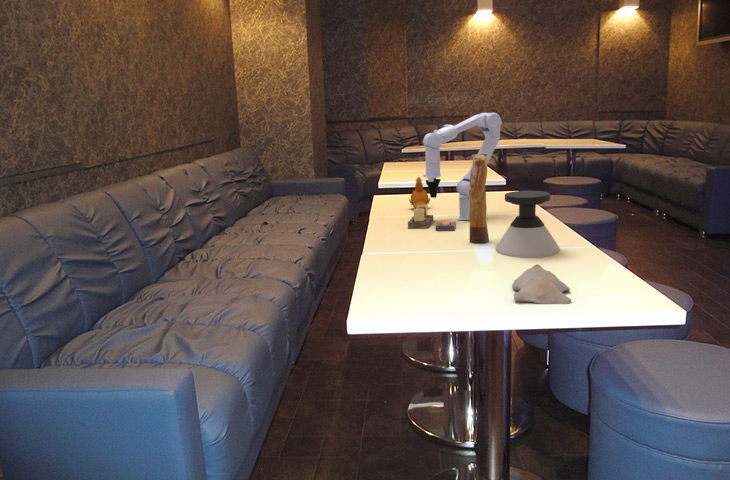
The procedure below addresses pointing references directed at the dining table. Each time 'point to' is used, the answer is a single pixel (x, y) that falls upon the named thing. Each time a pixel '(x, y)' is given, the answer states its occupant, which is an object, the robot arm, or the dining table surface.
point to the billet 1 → (424, 210)
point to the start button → (445, 223)
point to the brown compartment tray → (420, 223)
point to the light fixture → (527, 228)
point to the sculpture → (478, 200)
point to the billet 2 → (419, 215)
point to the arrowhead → (540, 287)
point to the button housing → (445, 226)
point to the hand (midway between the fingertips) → (433, 197)
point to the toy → (419, 194)
